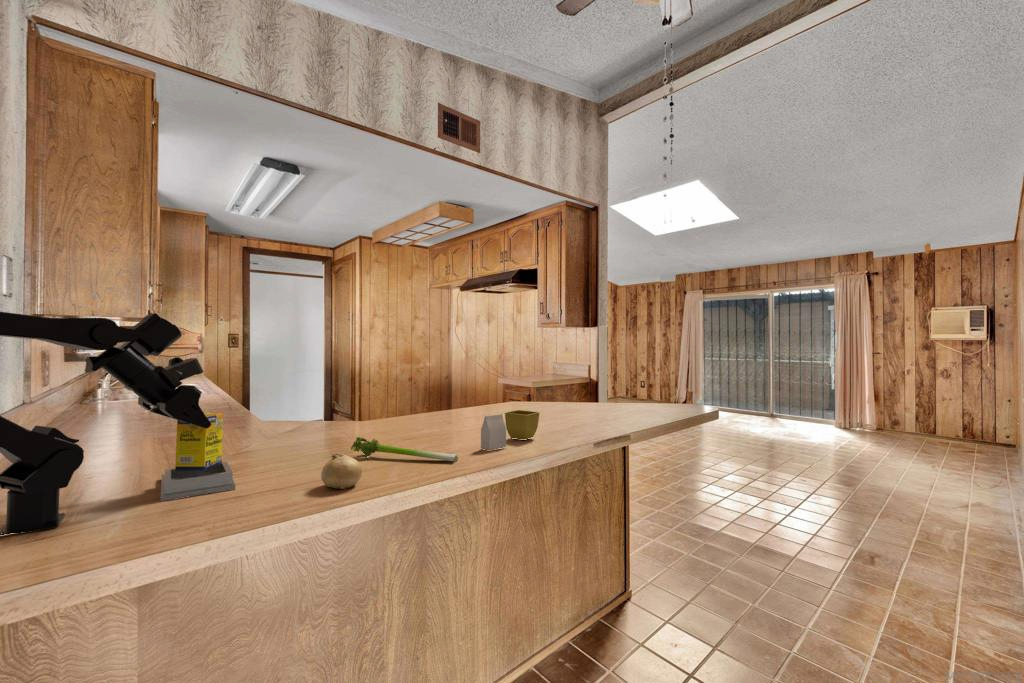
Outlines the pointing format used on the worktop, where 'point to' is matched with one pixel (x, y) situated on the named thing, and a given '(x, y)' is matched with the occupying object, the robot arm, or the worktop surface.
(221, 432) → the supplement box
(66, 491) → the worktop surface
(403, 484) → the worktop surface
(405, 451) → the green celery stalk
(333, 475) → the onion
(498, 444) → the grey gable carton
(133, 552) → the worktop surface
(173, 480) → the gray rectangular tray
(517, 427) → the flower pot
